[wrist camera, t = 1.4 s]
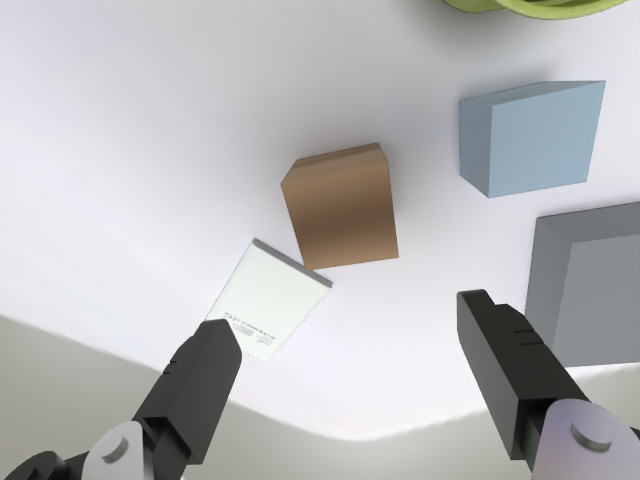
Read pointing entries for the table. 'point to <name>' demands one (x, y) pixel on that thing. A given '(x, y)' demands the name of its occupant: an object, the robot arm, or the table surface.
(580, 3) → the plant pot
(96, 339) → the table surface
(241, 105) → the table surface
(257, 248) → the external hard drive
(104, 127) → the table surface
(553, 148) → the blue cube
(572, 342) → the base plinth
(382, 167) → the walnut cube
